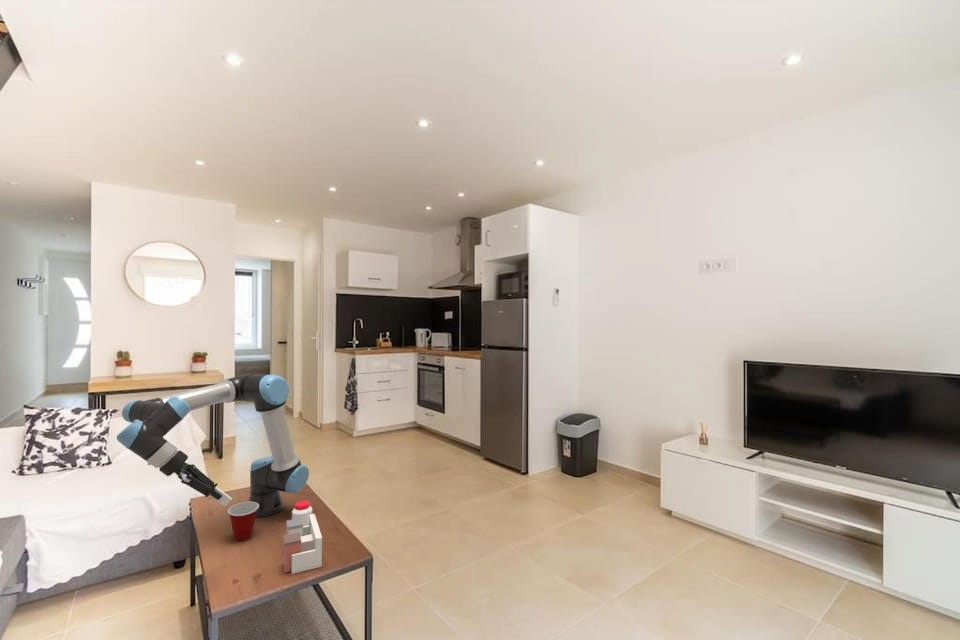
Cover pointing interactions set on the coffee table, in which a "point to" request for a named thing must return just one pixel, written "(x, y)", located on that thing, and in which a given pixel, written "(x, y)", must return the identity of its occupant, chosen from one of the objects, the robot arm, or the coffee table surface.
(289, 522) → the grey capped white pillar
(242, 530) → the plastic cup
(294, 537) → the capped red pillar
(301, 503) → the pill bottle
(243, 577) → the coffee table surface
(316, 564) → the rack
